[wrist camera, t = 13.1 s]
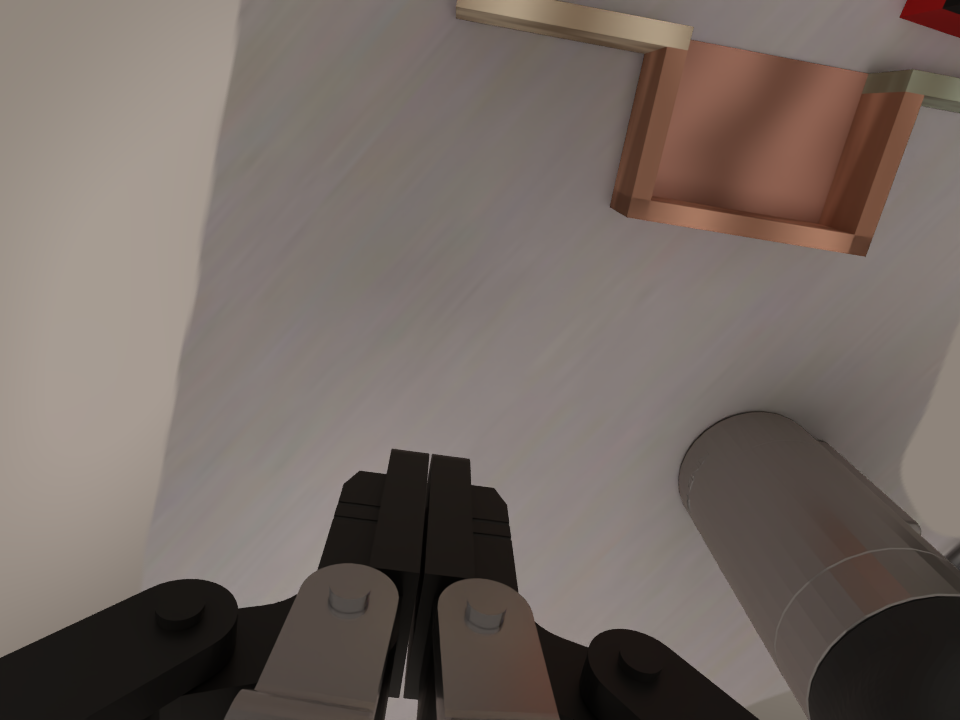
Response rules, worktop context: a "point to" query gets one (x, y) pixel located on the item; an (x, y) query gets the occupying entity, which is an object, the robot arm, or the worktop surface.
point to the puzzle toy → (934, 14)
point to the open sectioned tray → (745, 129)
